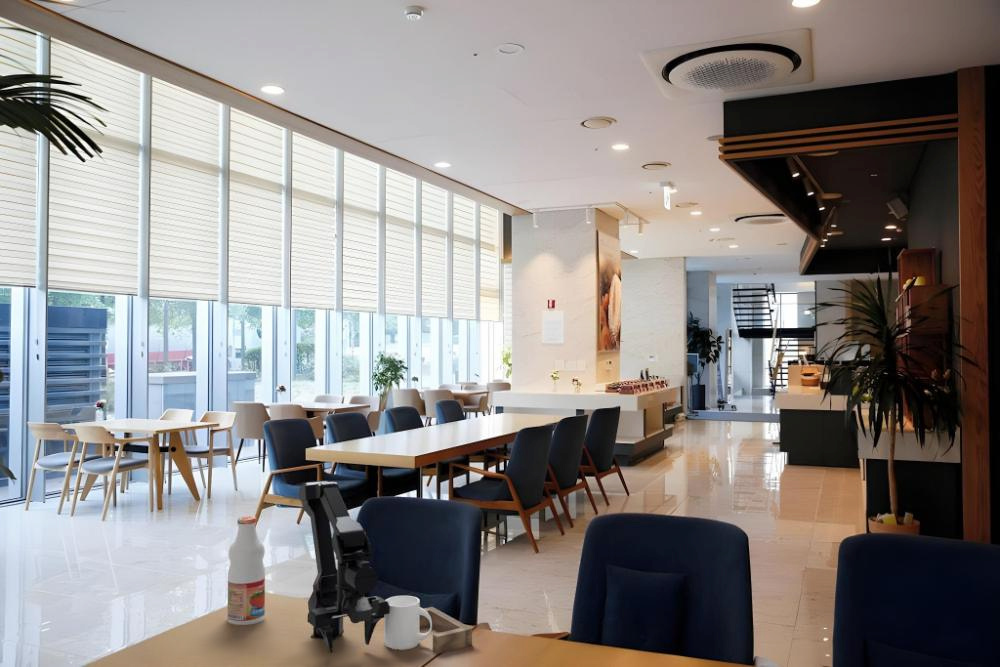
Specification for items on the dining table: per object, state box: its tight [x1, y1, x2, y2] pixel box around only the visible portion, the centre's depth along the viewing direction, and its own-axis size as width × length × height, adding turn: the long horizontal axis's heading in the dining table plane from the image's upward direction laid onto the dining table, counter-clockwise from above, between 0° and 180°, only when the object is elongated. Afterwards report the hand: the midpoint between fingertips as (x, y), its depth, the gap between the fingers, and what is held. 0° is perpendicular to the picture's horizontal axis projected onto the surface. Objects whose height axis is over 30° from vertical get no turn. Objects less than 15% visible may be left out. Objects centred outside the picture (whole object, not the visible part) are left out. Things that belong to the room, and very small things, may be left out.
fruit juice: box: [226, 516, 266, 626], centre depth 206 cm, size 9×9×28 cm
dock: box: [419, 606, 473, 654], centre depth 197 cm, size 10×20×4 cm, turn 34°
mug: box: [383, 595, 433, 651], centre depth 192 cm, size 9×12×11 cm
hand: (349, 648), depth 184 cm, fingers open, 9 cm apart
